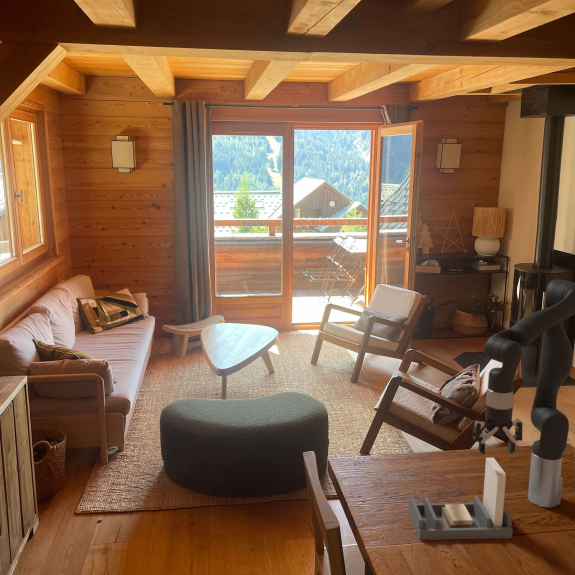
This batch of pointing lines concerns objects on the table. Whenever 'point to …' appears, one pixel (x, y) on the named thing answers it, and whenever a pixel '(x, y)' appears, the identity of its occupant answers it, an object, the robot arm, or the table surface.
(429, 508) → the rack
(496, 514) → the white rectangular board
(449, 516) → the offcuts
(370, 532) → the table surface
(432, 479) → the table surface
